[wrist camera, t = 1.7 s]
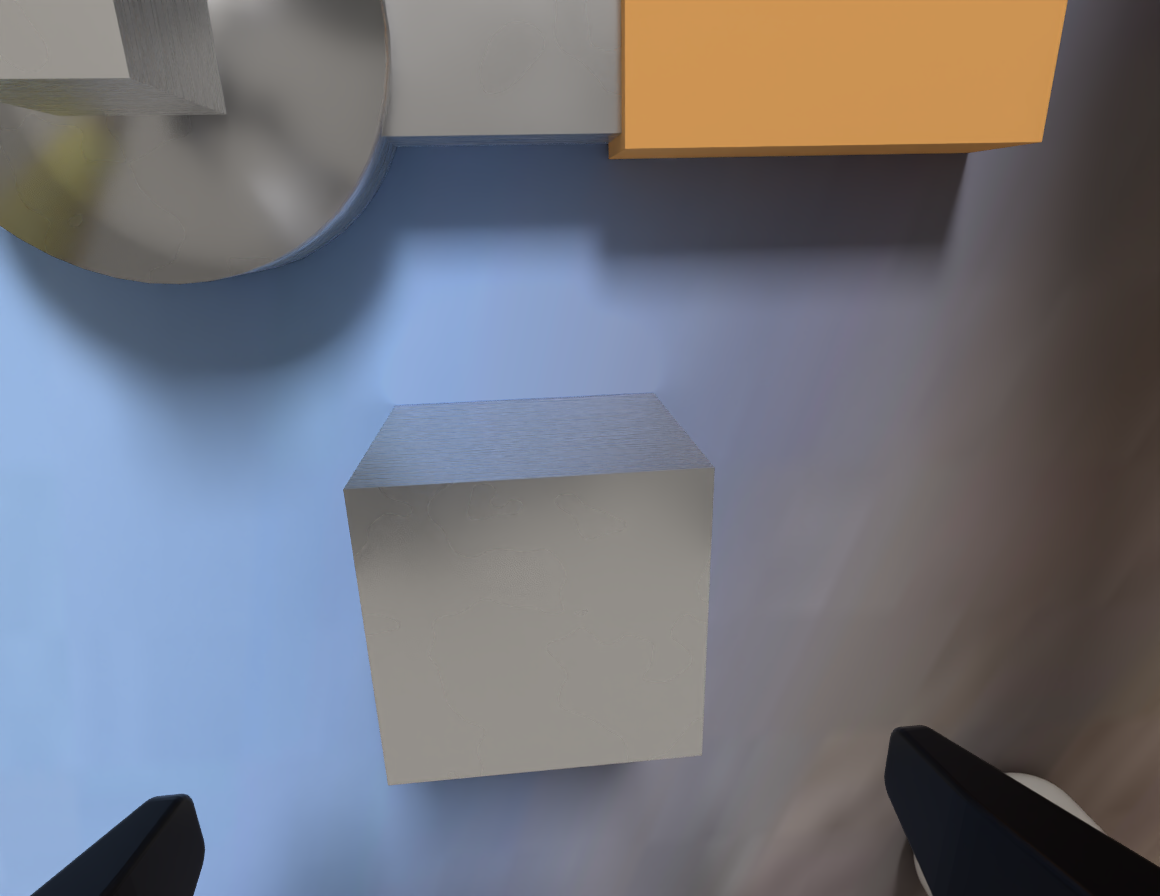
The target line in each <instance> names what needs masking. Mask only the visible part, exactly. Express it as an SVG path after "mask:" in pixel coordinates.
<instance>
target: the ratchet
mask: <svg viewBox="0 0 1160 896" xmlns="http://www.w3.org/2000/svg"><path fill="white" fill-rule="evenodd" d="M1067 1H1068V0H0V226H1V227H3V228H4V229H6V230H7V231H9V232H10V233H12V234H13V235H15V236H16V237H18V238H19V239H21V240H23V241H25V242H27V243H29V244H30V245H32V246H34V247H36V248H38V249H40V250H42V251H44V252H45V253H47V254H49V255H51V256H53V257H56V258H58V259H61V260H63V261H66V262H68V263H71V264H73V265H76V266H78V267H81V268H83V269H86V270H90V271H93V272H97V273H100V274H104V275H108V276H111V277H115V278H120V279H126V280H132V281H139V282H145V283H162V284H187V283H197V282H207V281H214V280H219V279H224V278H229V277H234V276H239V275H244V274H249V273H254V272H258V271H263V270H267V269H271V268H275V267H280V266H283V265H286V264H288V263H291V262H294V261H296V260H299V259H301V258H304V257H306V256H308V255H310V254H311V253H313V252H315V251H317V250H318V249H320V248H322V247H324V246H325V245H327V244H328V243H330V242H331V241H332V240H333V239H335V238H336V237H337V236H338V235H340V234H341V233H342V232H344V231H345V230H346V229H347V228H348V227H349V226H350V225H351V224H352V223H353V222H354V221H355V220H356V219H357V218H358V216H359V215H360V214H361V213H362V212H363V211H364V210H365V208H366V207H367V205H368V204H369V203H370V201H371V200H372V198H373V197H374V196H375V194H376V193H377V191H378V189H379V188H380V186H381V184H382V182H383V180H384V178H385V176H386V174H387V172H388V170H389V168H390V165H391V162H392V160H393V157H394V154H395V151H396V148H397V147H415V146H480V145H545V144H608V147H609V159H643V158H701V157H758V156H815V155H873V154H930V153H970V152H977V151H984V150H991V149H998V148H1004V147H1011V146H1018V145H1025V144H1031V143H1038V142H1042V138H1043V132H1044V127H1045V121H1046V116H1047V110H1048V105H1049V99H1050V94H1051V88H1052V83H1053V78H1054V72H1055V67H1056V61H1057V56H1058V50H1059V45H1060V39H1061V34H1062V28H1063V23H1064V17H1065V12H1066V7H1067Z"/></svg>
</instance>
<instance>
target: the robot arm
mask: <svg viewBox="0 0 1160 896" xmlns="http://www.w3.org/2000/svg"><path fill="white" fill-rule="evenodd" d="M884 778H885V786H886V790H887V793H888V796H889V798H890V801H891V803H892V805H893V807H894V810H895V812H896V814H897V816H898V819H899V821H900V823H901V825H902V828H903V830H904V832H905V835H906V837H907V839H908V841H909V844H910V846H911V848H912V850H913V853H914V855H915V857H916V859H917V862H918V864H919V866H920V869H921V871H922V873H923V875H924V878H925V880H926V882H927V884H928V887H929V889H930V891H931V893H932V896H1160V867H1159V866H1157V865H1155V864H1154V863H1152V862H1150V861H1149V860H1147V859H1145V858H1144V857H1142V856H1140V855H1139V854H1137V853H1135V852H1134V851H1132V850H1130V849H1129V848H1127V847H1126V846H1124V845H1122V844H1121V843H1119V842H1117V841H1116V840H1114V839H1112V838H1111V837H1109V836H1107V835H1106V834H1104V833H1102V832H1101V831H1099V830H1097V829H1096V828H1094V827H1093V826H1091V825H1089V824H1088V823H1086V822H1084V821H1083V820H1081V819H1079V818H1078V817H1076V816H1074V815H1073V814H1071V813H1069V812H1068V811H1066V810H1064V809H1063V808H1061V807H1060V806H1058V805H1056V804H1055V803H1053V802H1051V801H1050V800H1048V799H1046V798H1045V797H1043V796H1041V795H1040V794H1038V793H1036V792H1035V791H1033V790H1031V789H1030V788H1028V787H1027V786H1025V785H1023V784H1022V783H1020V782H1018V781H1017V780H1015V779H1013V778H1012V777H1010V776H1008V775H1007V774H1005V773H1003V772H1002V771H1000V770H998V769H997V768H995V767H994V766H992V765H990V764H989V763H987V762H985V761H984V760H982V759H980V758H979V757H977V756H975V755H974V754H972V753H970V752H969V751H967V750H965V749H964V748H962V747H961V746H959V745H957V744H956V743H954V742H952V741H951V740H949V739H947V738H946V737H944V736H942V735H941V734H939V733H937V732H936V731H934V730H932V729H931V728H929V727H926V726H922V725H917V726H906V727H898V728H895V729H894V730H893V732H892V733H891V737H890V742H889V749H888V755H887V761H886V767H885V775H884ZM204 854H205V844H204V839H203V836H202V832H201V828H200V825H199V821H198V818H197V814H196V811H195V807H194V803H193V801H192V799H191V798H190V797H189V796H188V795H186V794H175V795H165V796H156V797H153V798H151V799H149V800H148V801H146V802H145V803H143V804H142V805H141V806H140V807H138V808H137V809H136V810H135V811H134V812H132V813H131V814H130V815H129V816H127V817H126V818H125V819H124V820H123V821H121V822H120V823H119V824H118V825H116V826H115V827H114V828H113V829H111V830H110V831H109V832H108V833H107V834H105V835H104V836H103V837H102V838H100V839H99V840H98V841H97V842H96V843H94V844H93V845H92V846H91V847H89V848H88V849H87V850H86V851H85V852H83V853H82V854H81V855H80V856H78V857H77V858H76V859H75V860H73V861H72V862H71V863H70V864H69V865H67V866H66V867H65V868H64V869H62V870H61V871H60V872H59V873H58V874H56V875H55V876H54V877H53V878H51V879H50V880H49V881H48V882H46V883H45V884H44V885H43V886H42V887H40V888H39V889H38V890H37V891H35V892H34V893H33V894H32V895H31V896H193V895H194V892H195V888H196V885H197V882H198V879H199V875H200V872H201V869H202V865H203V861H204Z"/></svg>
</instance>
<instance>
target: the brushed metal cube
mask: <svg viewBox="0 0 1160 896" xmlns="http://www.w3.org/2000/svg"><path fill="white" fill-rule="evenodd" d="M343 491H344V497H345V504H346V510H347V517H348V524H349V530H350V537H351V543H352V550H353V557H354V563H355V570H356V576H357V583H358V590H359V596H360V603H361V609H362V616H363V623H364V629H365V636H366V642H367V649H368V655H369V662H370V669H371V675H372V682H373V688H374V695H375V702H376V708H377V715H378V721H379V728H380V735H381V741H382V748H383V754H384V761H385V768H386V774H387V781H388V785H397V784H407V783H418V782H428V781H439V780H449V779H459V778H470V777H480V776H491V775H501V774H512V773H522V772H533V771H543V770H554V769H564V768H575V767H585V766H596V765H606V764H617V763H627V762H638V761H648V760H658V759H669V758H679V757H690V756H700V755H702V740H703V717H704V694H705V672H706V649H707V627H708V604H709V581H710V559H711V536H712V514H713V491H714V466H713V465H712V464H711V463H710V461H709V460H708V459H707V458H706V457H705V455H704V454H703V453H702V452H701V450H700V449H699V448H698V447H697V446H696V444H695V443H694V442H693V441H692V439H691V438H690V437H689V436H688V435H687V433H686V432H685V431H684V430H683V428H682V427H681V426H680V425H679V424H678V422H677V421H676V420H675V419H674V417H673V416H672V415H671V414H670V413H669V411H668V410H667V409H666V408H665V406H664V405H663V404H662V403H661V402H660V400H659V399H658V398H657V397H656V395H655V394H654V393H649V394H628V395H608V396H587V397H567V398H546V399H525V400H505V401H484V402H464V403H443V404H423V405H402V406H394V408H393V410H392V411H391V413H390V415H389V416H388V418H387V419H386V421H385V423H384V424H383V426H382V428H381V429H380V431H379V432H378V434H377V436H376V437H375V439H374V440H373V442H372V444H371V445H370V447H369V449H368V450H367V452H366V453H365V455H364V457H363V458H362V460H361V462H360V463H359V465H358V466H357V468H356V470H355V471H354V473H353V474H352V476H351V478H350V479H349V481H348V483H347V484H346V486H345V487H344V489H343Z"/></svg>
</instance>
